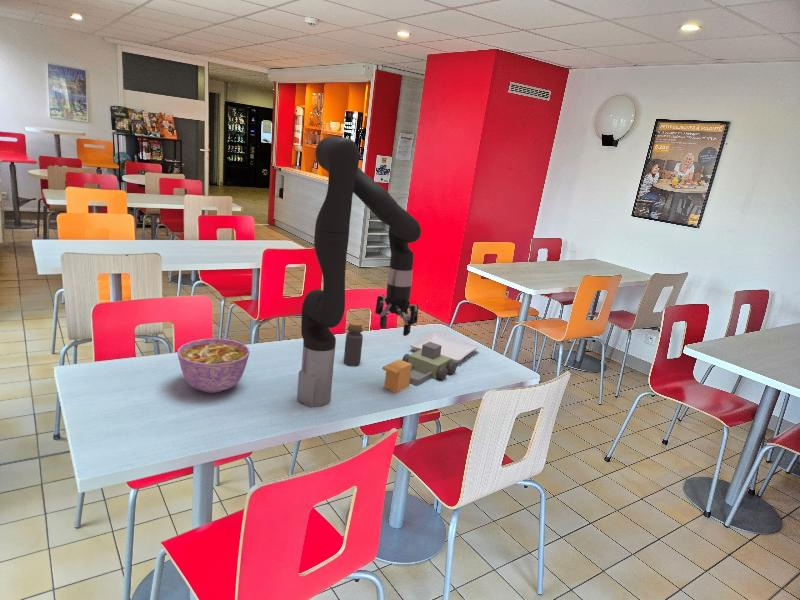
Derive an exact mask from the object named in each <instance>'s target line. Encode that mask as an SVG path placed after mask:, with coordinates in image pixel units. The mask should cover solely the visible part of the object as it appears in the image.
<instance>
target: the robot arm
mask: <svg viewBox="0 0 800 600" xmlns="http://www.w3.org/2000/svg"><path fill="white" fill-rule="evenodd" d="M315 158H316V161H317V163H318V164H319V167H321V168H322V169H324V170H325V171H326V172H327V173H328V179H327V191H326V195H325V198H324V201H323V203H322V205H321V207H320V210H319V211H318V214H317V217H316V220H315V226H314V227H315V228H314V239H313V247H314V251H315V252H314V253H315V256H316V258H317V259H316V260H317V261H318V265H319V267H320V270H321V275H322V279H323V282H322V283H323V286H322V287H323V288H322V289H319V288H318V289H316V288H315V289H312V290H310V291H309V292H308V293H306V295H305V297H304V300H303V302H302V306H301V320H300V321H301V326H300V328H301V329H300V330H301V331H300V332H301V333H300V334H301V337H302V340H303V341H302V342H303V343H302V346H303V347H302V357H301V369H300V370H299V372H298V380H297V381H298V382H297V394H296V401H298V402H299V403H301V404H303V405H306V406H308V407H310V408H314V407H322V406H325V405H327V404H329V403H330V402H331V399H332V398H331V397H332V389H333V388H332V387H333V376H334V366H335V365H334V364H335V354H336V344H337V343H336V341H337V340H336V339H337V338H336V336H335V334H334V333H333V332H332V331H331V329H333V328H336V327H337V326H338V325H340V323H341V322H342V320H343V318H344V315H345V309H346V270H347V269H346V267H347V255H348V246H349V237H350V226H351V225H350V224H351V215H352V206H353V205H352V204H353V195H355V196H356V197H357V198H358V199H359V200H360V201H361V202H362V203H363V204H364V205H365V206H366V207H367V208H368V209H369V210H370V212H371V213H372V214H373V215H374V216H375V217H377V218H378V219H379V221H380V222H382V223H383V224H385V225H387V226H388V242H389V250H390V259H389V260H390V262H389V269H388V273H387V280H386V281H387V282H386V283H387V284H386V292H385V295H386V296H385V295H384V294H381V295H378V296H377V300H376V306H375V311H374V312H375V314H376V315H379V317H380V319H379V326H380V329H385V328H387V325H388V324H387V322H388V314H389V313H391V314H394V315H396V316H400V318H401V319H402V320H403V323H404V325H403V331H402V335H403V336H405V337H407V336H409V335H410V333H411V327H412V325H414V324H417V323H418V318H419V317H418V315H419V305H418V304H417V303H416V304H411V302H410V298H411V294H412V293H411V292H412V283H413V267H414V266H413V265H414V258H415V256H414V255H415V254H414V252H413V250H412V249H411V248H410V247H409V244H413V243H416V242H417V241H418V240H419V239H420V237H421V235H422V228H421V224H419V222H418V220H417V219H416V218H415V217H414V216H413V215H412V214H411V213H409V212H408V211H407V210H405V209H404V208H402V207H401V206H400V205H399V204H398V202H397V201H396V200H395V198H394V197H393V196H392V195H391V194H390V193H389V192H388V191H387V190H386V189H385V188H384V187H383V186H381V184H379V183H378V182H376V181H375V180H374V179H373V178H372V177H370V176H369V175H367V174H366V172H364V171H363V170H362V169H361V168H360V167H359V163H360V151H359V148H358V146H357V144H356V143H355V141H354V140H353V139H350V138H348V137H342V136H326V137H324V138H322V139H321V140H320V141H319V142H318V143H317V145H316V146H315ZM384 304H385V305H386V307H384V306H385V305H384Z"/></svg>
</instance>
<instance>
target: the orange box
mask: <svg viewBox="0 0 800 600" xmlns="http://www.w3.org/2000/svg"><path fill="white" fill-rule="evenodd" d="M411 366H412V364H411V363H408V362H405V361H402V359H397V360H395V361H394V360H393V362H391V363H388V364H386V365H384V366H382V368H381V370H383V371H385V379H384V386H383V387H384V389H386V388H387V390H389V391H391V390H392V392H394V391H395V392H394V393H396V392H397V393H399V392H401V391H403V390H405V389H406V387H407V388H408V387H409V386H410V383H409V381H410V373H411ZM404 388H405V389H404ZM402 389H403V390H402ZM400 390H401V391H400ZM398 391H399V392H398Z"/></svg>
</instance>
